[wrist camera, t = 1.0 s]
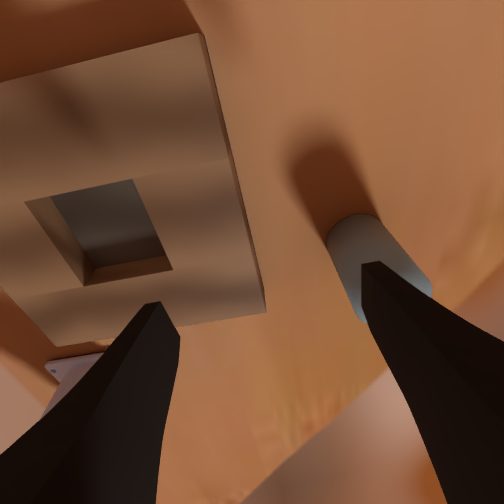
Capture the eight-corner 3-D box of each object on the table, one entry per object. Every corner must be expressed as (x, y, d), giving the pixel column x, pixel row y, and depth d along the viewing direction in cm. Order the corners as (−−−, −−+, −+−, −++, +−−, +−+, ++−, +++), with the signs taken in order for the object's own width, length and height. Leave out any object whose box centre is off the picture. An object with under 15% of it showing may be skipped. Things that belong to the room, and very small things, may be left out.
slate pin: (382, 257, 21) (426, 319, 16) (327, 266, 21) (353, 331, 16) (386, 208, 19) (438, 263, 14) (325, 220, 19) (354, 278, 14)
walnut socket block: (264, 288, 22) (266, 312, 20) (72, 321, 24) (56, 347, 22) (204, 35, 13) (197, 32, 11) (-98, 111, 15) (-153, 121, 13)
